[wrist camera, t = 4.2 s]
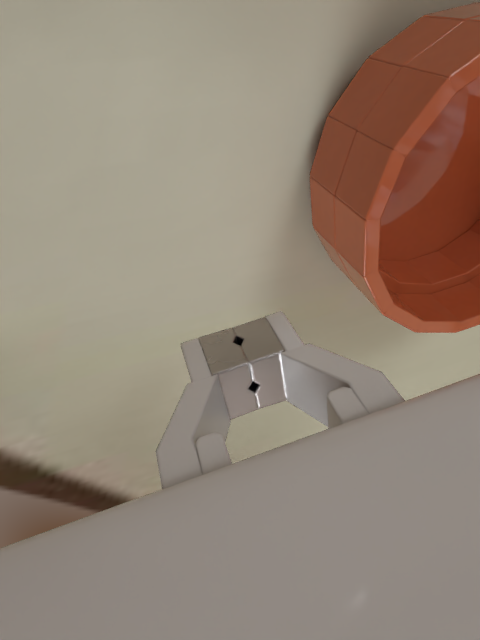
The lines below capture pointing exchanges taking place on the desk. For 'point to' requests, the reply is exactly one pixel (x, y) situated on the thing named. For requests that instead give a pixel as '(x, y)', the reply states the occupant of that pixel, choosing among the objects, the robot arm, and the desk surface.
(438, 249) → the bowl
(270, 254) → the desk surface
